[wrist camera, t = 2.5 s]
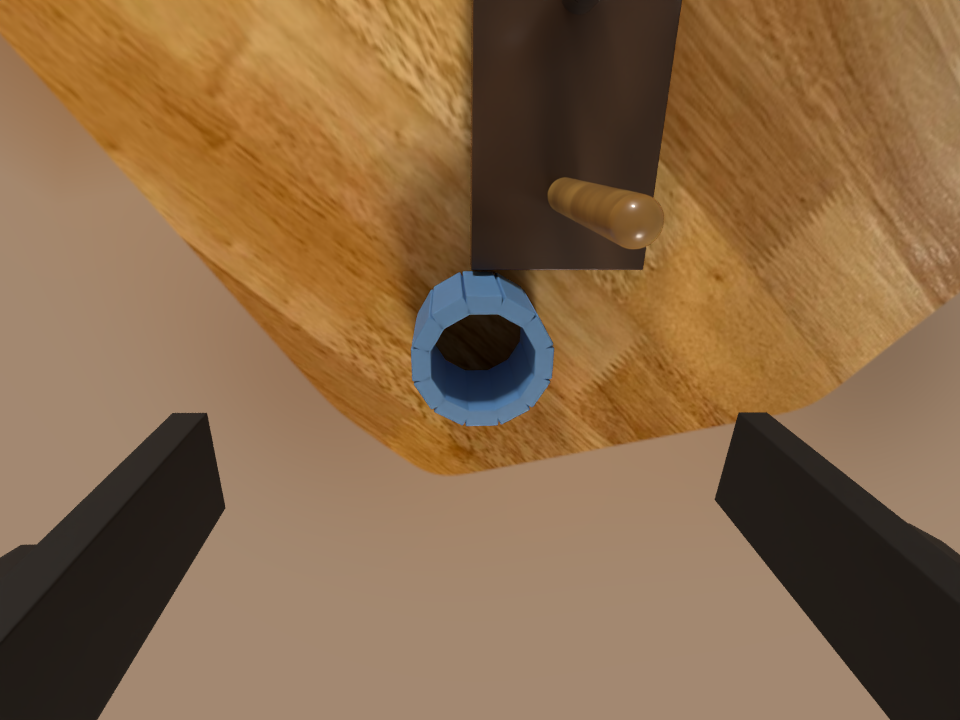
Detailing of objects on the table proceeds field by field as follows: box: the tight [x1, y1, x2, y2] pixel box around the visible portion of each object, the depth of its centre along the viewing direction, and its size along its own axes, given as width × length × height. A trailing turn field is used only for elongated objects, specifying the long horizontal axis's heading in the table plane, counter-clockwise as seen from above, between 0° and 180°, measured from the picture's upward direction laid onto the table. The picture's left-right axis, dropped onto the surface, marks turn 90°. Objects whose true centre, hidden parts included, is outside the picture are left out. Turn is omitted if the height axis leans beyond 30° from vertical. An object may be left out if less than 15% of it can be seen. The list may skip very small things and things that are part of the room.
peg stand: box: [470, 0, 682, 270], centre depth 22 cm, size 11×19×14 cm, turn 179°
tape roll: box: [411, 271, 554, 426], centre depth 31 cm, size 8×8×6 cm
